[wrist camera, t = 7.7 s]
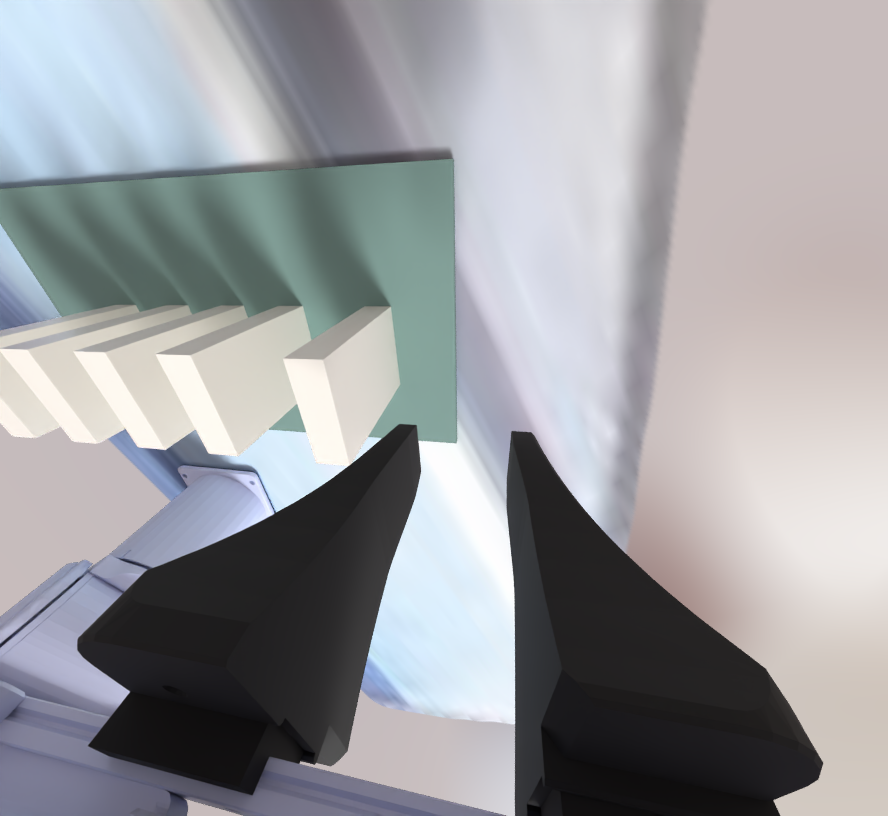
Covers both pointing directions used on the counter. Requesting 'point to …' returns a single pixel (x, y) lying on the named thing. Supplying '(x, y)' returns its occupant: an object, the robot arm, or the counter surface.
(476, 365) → the counter surface
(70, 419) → the domino
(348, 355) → the domino
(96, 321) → the end domino
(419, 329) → the mat
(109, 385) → the domino
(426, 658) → the counter surface
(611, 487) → the counter surface
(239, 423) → the domino
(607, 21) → the counter surface
